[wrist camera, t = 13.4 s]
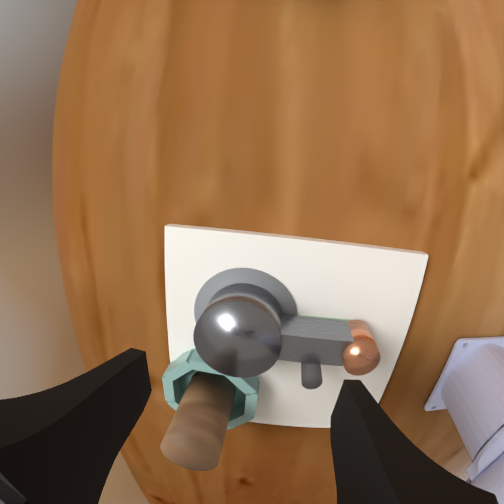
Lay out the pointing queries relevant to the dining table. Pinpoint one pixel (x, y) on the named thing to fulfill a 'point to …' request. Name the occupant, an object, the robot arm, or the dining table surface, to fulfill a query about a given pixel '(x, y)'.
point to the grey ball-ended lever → (276, 336)
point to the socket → (191, 362)
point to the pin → (200, 422)
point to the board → (296, 304)
